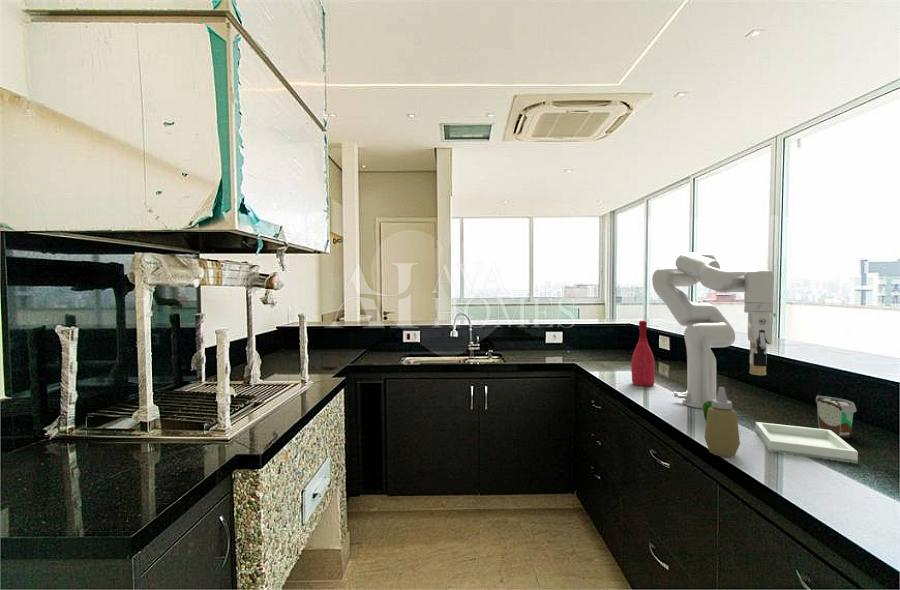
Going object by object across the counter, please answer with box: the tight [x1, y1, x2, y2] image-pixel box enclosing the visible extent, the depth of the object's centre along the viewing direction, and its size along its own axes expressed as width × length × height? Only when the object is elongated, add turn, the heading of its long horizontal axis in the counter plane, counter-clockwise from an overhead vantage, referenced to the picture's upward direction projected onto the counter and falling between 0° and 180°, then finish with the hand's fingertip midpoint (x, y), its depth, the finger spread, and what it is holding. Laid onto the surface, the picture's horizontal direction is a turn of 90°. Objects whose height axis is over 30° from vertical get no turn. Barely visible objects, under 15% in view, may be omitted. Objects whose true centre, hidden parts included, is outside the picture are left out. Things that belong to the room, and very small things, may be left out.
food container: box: [815, 395, 858, 439], centre depth 127 cm, size 12×6×10 cm, turn 168°
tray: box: [754, 421, 859, 464], centre depth 117 cm, size 18×18×3 cm
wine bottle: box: [631, 320, 656, 387], centre depth 194 cm, size 10×10×30 cm
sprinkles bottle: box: [748, 339, 768, 376], centre depth 133 cm, size 5×5×13 cm
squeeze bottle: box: [704, 386, 741, 458], centre depth 112 cm, size 8×8×18 cm
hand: (757, 363), depth 134 cm, fingers closed on sprinkles bottle, 4 cm apart
